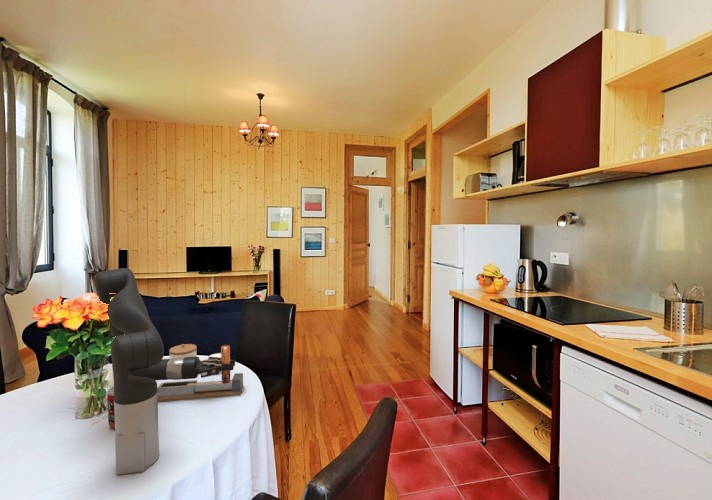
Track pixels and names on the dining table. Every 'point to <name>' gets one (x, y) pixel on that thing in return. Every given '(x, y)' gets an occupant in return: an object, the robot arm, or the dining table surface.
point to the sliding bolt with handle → (226, 381)
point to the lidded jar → (183, 351)
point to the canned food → (111, 408)
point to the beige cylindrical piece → (216, 356)
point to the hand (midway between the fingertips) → (234, 364)
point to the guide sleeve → (175, 389)
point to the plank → (201, 395)
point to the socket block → (237, 382)
